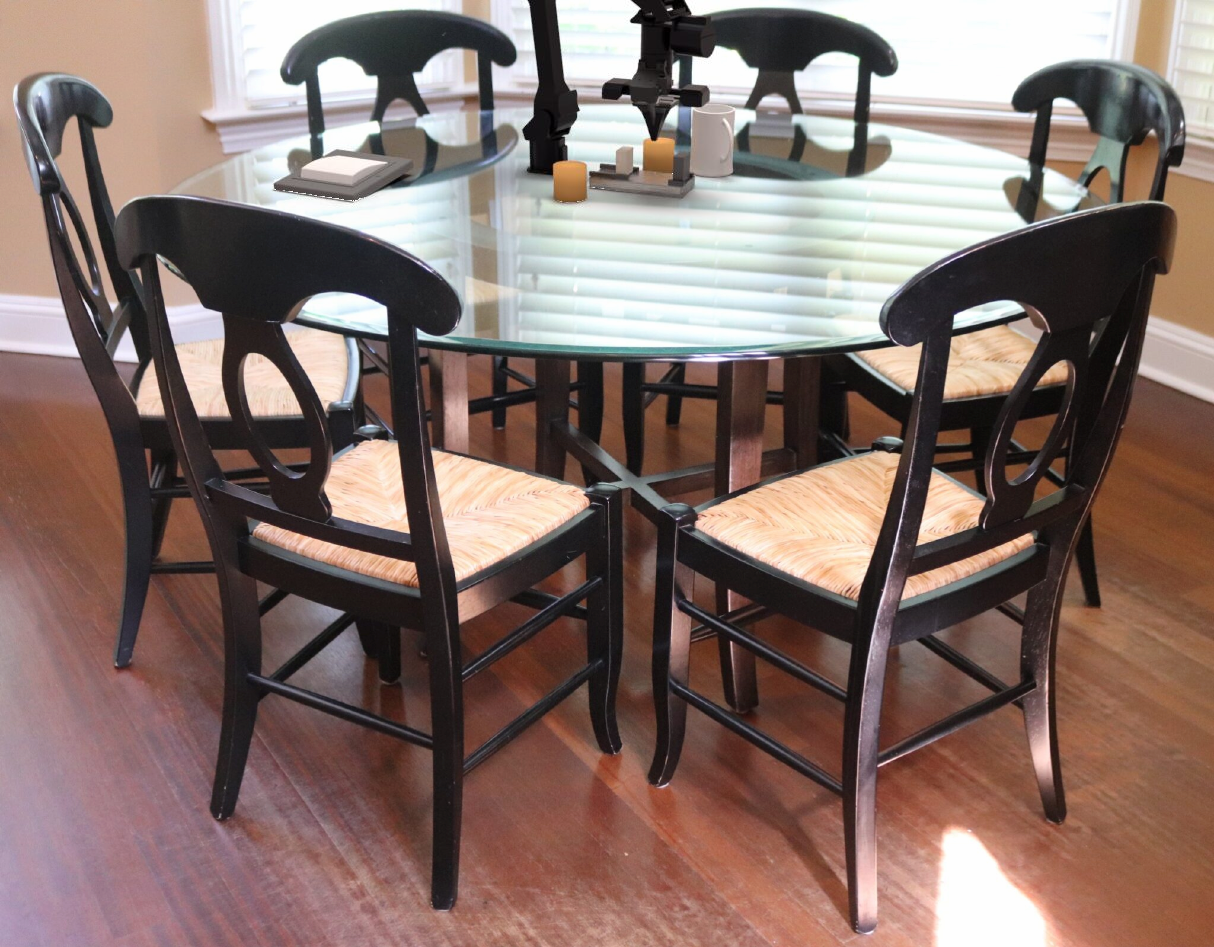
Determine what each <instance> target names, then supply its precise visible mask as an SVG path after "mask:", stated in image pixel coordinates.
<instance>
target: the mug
mask: <svg viewBox="0 0 1214 947" xmlns="http://www.w3.org/2000/svg"><path fill="white" fill-rule="evenodd" d="M691 113H692V115H691V116H692V117H691V138H690V140H691V141H690V142H691V143H690V172H692V173H694V176H698V177H703V178H704V177H705V178H721V177H727V176H730V175H732V174H733V173H734V167H733V158H734V157H733V154H734V139H735V137H734V136H735V122H736V121H735V120H736V108H735V107H734V106H730V105H726V104H720V103H719V104H718V103H706V104H705V105H704V106H702V107H698V108H697V107H692V112H691Z"/></svg>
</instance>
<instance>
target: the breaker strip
mask: <svg viewBox="0 0 1214 947" xmlns="http://www.w3.org/2000/svg"><path fill="white" fill-rule="evenodd" d="M588 176H589V177H588V188H589V187H595V188H604V189H609V190H608V191H612V190H617V191H616V192H621V191H623V193H631V194H640V195H649V194H651V195H650V196H657V197H659V196H660V197H667V196H668V197H669V198H676V197H678V199H684V197H685V196H686V195H687V194H688V193H689V192H690V191H691V190H692V189H693V188H695V187H696V186H695V185H696V183H695V182H696V181H695V180H696V175H694V173H692V172H690V174H689V178H687V179H686V180H675V179H673V174H672V173H662V172H652V171H643V169H642V170H640V167H639V166H633V171H632V172H631V173H630V174H628V175H627V174H618V173H616V164H613V163H612V164H610V163H602V162H601V163H600V164H599V170H598V171H597V170H596V171H595V170H589V171H588Z"/></svg>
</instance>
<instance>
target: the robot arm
mask: <svg viewBox="0 0 1214 947" xmlns="http://www.w3.org/2000/svg"><path fill="white" fill-rule="evenodd" d="M526 1H527V2H528V6H529V13H530V22H531V29H532V37H533V40H532V41H533V48H534V56H535V64H536V72H537V80H538V86H537V89H536V92H535V95H534V98H533V107H532V108H533V109H532V110H533V112H532V113H533V114H532V115H533V117H532V118H531V119H530V120H529V121H528V122H527V123H526V124H525V125H524V126H523V128H522V129H521V131H522V134H523V138H524V140H525V141H527V142H528V141H529V166H528V167H526V172H531V173H541V174H550V175H553V164H554V163H557V162H560V161H569V159H568V158H569V156H568V155H569V154H568V153H569V152H568V151H569V146H568V145H567V144H566V136H567V135H569V134H570V132H571V129H572V126H573V125H574V124H575V123H576V121H577V120H578V113H579V112H580V111H581V109H580V107H579V103H578V91H577V89H570V87H569V86H568V85H567V83H566V80H565V74H564V73H565V72H564V65H563V64H564V63H563V55H562V47H561V36H560V28H559V20H558V19H559V18H558V17H559V16H558V10H557V0H526ZM630 1H631V2H632V3H633V4H634V5H635V6H637V7H638V8H639V9H638V11H637V12H636V14H635V15H633V17H632V18H630V19H629V23H631V24H634V25H636V24H637V25H640V56H639V57H640V58H639V59H638V62H637V69H636V71H635V72H636V73H634V75H633V76H632V78H623V77H622V78H620V77H613V78H610V79H609V80H607V81H606V82H604V83H603V84H602V88H601V99H602V100H612V101H618V100H619V99H621V97H622V96H630V101H631V102H632V103H631V105H632V107H637V109H638V110H639V111H640V113H641V115H642V116H643V119H644V121H645V125H646V127H647V128H646V129H647V131H648V134H649V138H651V141H657V139H658V137H659V136H660V134H661V132H662V129H663V126H664V124H665V121H666V119H667V117H668V115H669V113H670V111H671V109H673V108H675V107H676V106H678V105H679V102H680V104H681V105H682V106H683V107H686V108H687V107H688V108H689V107H690V108H693V107H697V108H698V107H702V106H704V105H705V104H709V102H710V97H711V94H710V93H711V90H710V89H709V87H708V86H707V85H703V84H693V83H692V84H691V83H688V84H686V85H685V86H683V87H682V88H675V87H673V86H674V82H675V81H674V79H673V63H674V62H675V55H674V53H675V54H676V55H680V56H687V57H694V58H695V57H696V58H703V59H709V58H710V57H712V55H713V53H714V50H715V49H716V45H717V33H716V31H715V26H714V25H713V23H712V17H711V15H707V14H706V15H705V14H704V15H694V14H693V13H692V11H691V9H690V8H689V6H688V4H687V2H686V0H630ZM657 102H658V103H657Z"/></svg>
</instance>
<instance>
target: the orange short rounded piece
mask: <svg viewBox="0 0 1214 947" xmlns="http://www.w3.org/2000/svg"><path fill="white" fill-rule="evenodd" d="M675 143H676V142H675V140H674V139H673V138H668V137H658V139H657V141H651V138H650V137H648V138H645V139H643V142H642V170H643V171H652V172H662V173H673V157H674V156H675V145H676V144H675Z"/></svg>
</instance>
